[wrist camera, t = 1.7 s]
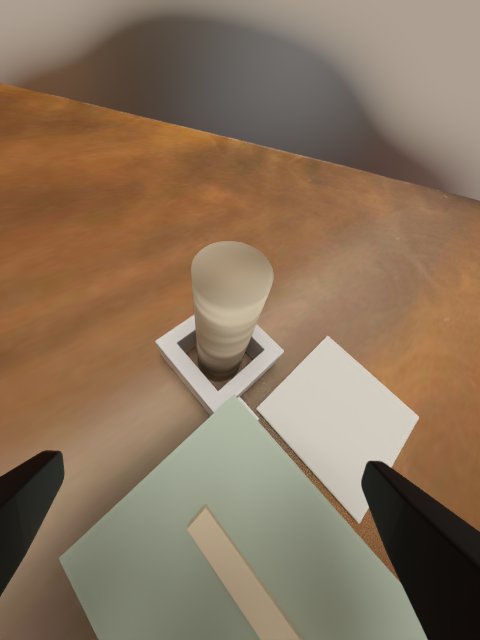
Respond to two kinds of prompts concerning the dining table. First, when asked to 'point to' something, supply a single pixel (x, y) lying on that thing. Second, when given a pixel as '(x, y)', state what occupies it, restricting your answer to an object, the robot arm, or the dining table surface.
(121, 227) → the dining table surface
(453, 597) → the robot arm
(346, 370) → the mat
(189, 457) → the pale green box
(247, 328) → the beige cylinder
